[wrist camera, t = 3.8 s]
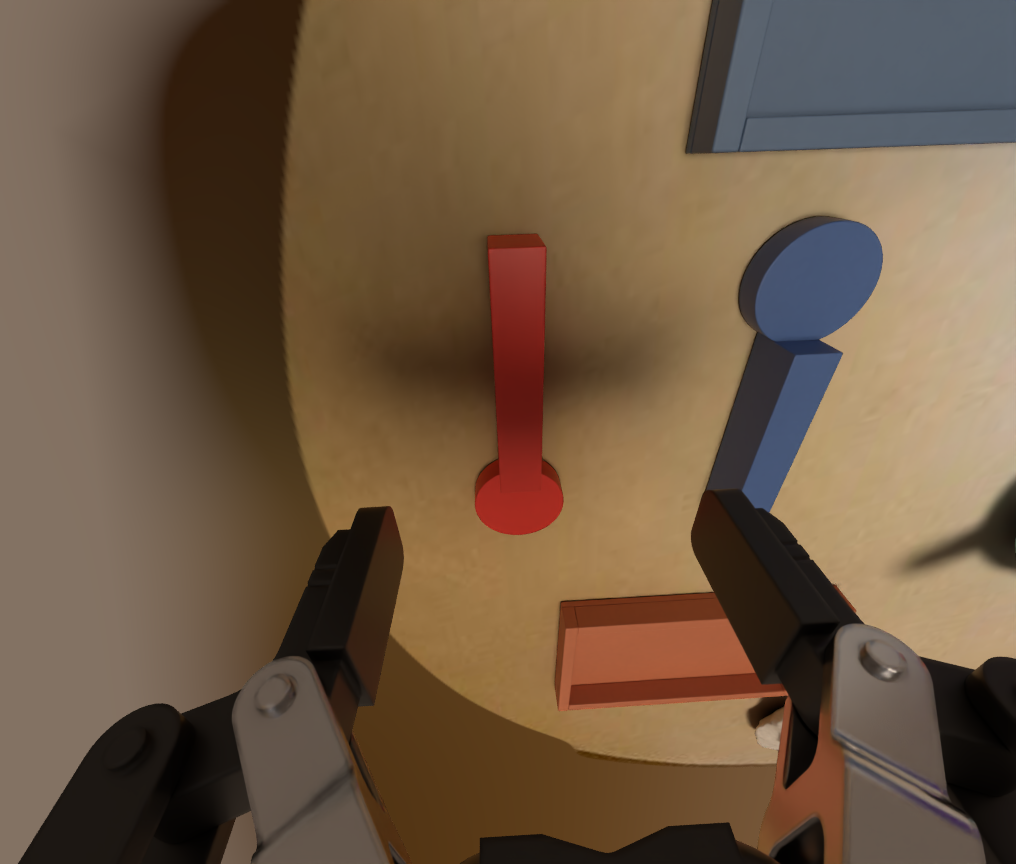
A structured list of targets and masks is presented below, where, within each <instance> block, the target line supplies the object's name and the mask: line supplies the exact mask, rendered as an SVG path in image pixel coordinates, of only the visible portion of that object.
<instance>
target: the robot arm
mask: <svg viewBox="0 0 1016 864" xmlns="http://www.w3.org/2000/svg"><path fill="white" fill-rule="evenodd" d="M691 543H692V548H693V551H694V554H695V556H696V558H697V560H698V562H699V564H700V566H701V568H702V570H703V572H704V573H705V575H706V577H707V579H708V581H709V583H710V585H711V587H712V589H713V591H714V593H715V595H716V597H717V599H718V601H719V603H720V605H721V607H722V608H723V610H724V612H725V614H726V616H727V618H728V620H729V622H730V624H731V626H732V628H733V630H734V632H735V634H736V636H737V638H738V640H739V642H740V644H741V645H742V647H743V649H744V651H745V653H746V655H747V657H748V659H749V661H750V663H751V665H752V667H753V669H754V671H755V673H756V675H757V677H758V679H759V680H760V682H761V684H762V685H765V684H783V686H784V688H785V690H786V692H787V693H788V695H789V696H788V697H787V699H786V702H785V707H784V714H783V722H782V729H781V737H780V744H779V751H778V759H777V766H776V774H775V782H774V788H773V793H772V797H771V800H770V802H769V805H768V807H767V809H766V812H765V814H764V818H763V821H762V824H761V828H760V833H759V839H758V845H757V849H755V848H753V847H751V846H749V845H746V844H744V843H742V842H739V841H737V840H735V838H734V835H733V832H732V829H731V826H730V824H729V823H713V824H697V825H683V826H682V825H680V826H668V827H666V828H664V829H661V830H659V831H657V832H655V833H653V834H651V835H649V836H647V837H644V838H642V839H640V840H638V841H636V842H634V843H632V844H630V845H628V846H626V847H623V848H621V849H619V850H617V851H615V852H612V853H604V852H599V851H596V850H593V849H589V848H586V847H582V846H579V845H576V844H573V843H569V842H566V841H563V840H559V839H556V838H552V837H550V836H546V835H543V834H536V835H518V836H502V837H488V838H487V837H486V838H480V853H478V854H476V855H474V856H471V857H469V858H467V859H466V860H465V861H463V862H461V863H460V864H1016V659H1014V658H1009V657H993V658H990V659H988V660H987V661H986V662H984V663H983V664H982V665H981V666H980V667H978V668H977V669H976V670H974V669H969V668H965V667H961V666H957V665H953V664H949V663H944V662H940V661H936V660H932V659H928V658H924V657H920V656H918V655H917V654H916V653H915V652H914V651H913V650H912V649H910V648H909V647H908V646H907V645H906V644H904V643H903V642H902V641H900V640H899V639H897V638H896V637H894V636H892V635H891V634H889V633H887V632H885V631H883V630H881V629H878V628H876V627H873V626H869V625H865V624H864V623H863V622H862V621H861V620H860V618H859V617H858V616H857V615H856V614H855V612H854V611H853V610H852V609H851V607H850V606H849V605H848V604H847V602H846V601H845V600H844V598H843V597H842V596H841V595H840V593H839V592H838V591H837V590H836V588H835V587H834V586H833V585H832V583H831V582H830V581H829V580H828V578H827V577H826V576H825V575H824V573H823V572H822V571H821V570H820V568H819V567H818V566H817V565H816V563H815V562H814V561H813V560H810V558H809V555H808V553H807V552H806V551H805V550H804V548H803V547H802V546H801V545H798V543H797V540H796V538H795V537H794V536H793V535H792V533H791V532H790V531H789V530H788V528H787V527H786V526H785V525H784V523H783V522H781V521H780V520H778V519H777V518H776V517H774V516H773V515H772V514H770V513H769V512H767V511H766V510H765V509H763V508H755V507H754V506H753V504H752V503H751V502H750V500H749V499H748V498H747V496H746V495H745V494H744V493H743V492H742V491H741V490H740V489H737V488H735V489H716V490H706V491H705V492H704V493H703V495H702V498H701V501H700V505H699V508H698V511H697V514H696V518H695V521H694V524H693V527H692V531H691ZM403 561H404V554H403V546H402V542H401V538H400V534H399V531H398V527H397V524H396V520H395V516H394V513H393V510H392V508H391V507H390V506H386V507H367V508H360V509H359V510H358V511H357V513H356V516H355V519H354V521H353V524H352V527H351V529H349V530H338V531H337V532H336V533H335V534H334V535H333V537H332V538H331V539H330V540H329V541H328V542H327V543H326V545H324V546H323V548H322V551H321V553H320V555H319V557H318V560H317V562H316V564H315V570H313V572H312V574H311V576H310V579H309V581H308V586H307V587H306V588H305V590H304V593H303V595H302V597H301V600H300V602H299V604H298V607H297V609H296V611H295V614H294V616H293V618H292V621H291V623H290V625H289V628H288V630H287V633H286V635H285V637H284V639H283V642H282V644H281V647H280V649H279V651H278V653H277V655H276V657H275V658H274V659H273V661H272V662H270V663H269V664H267V665H265V666H264V667H262V668H261V669H260V670H258V671H257V672H256V673H255V674H254V675H253V676H252V677H251V678H250V679H249V680H248V681H247V683H246V684H245V685H244V686H243V688H242V689H241V690H239V691H238V692H236V693H233V694H231V695H229V696H226V697H224V698H221V699H219V700H216V701H213V702H211V703H208V704H205V705H203V706H200V707H197V708H195V709H192V710H190V711H187V712H184V713H182V714H181V713H179V712H178V711H177V710H176V709H175V708H174V707H172V706H170V705H168V704H163V703H162V704H152V705H148V706H145V707H142V708H139V709H138V710H135V711H133V712H131V713H130V714H128V715H126V716H125V717H123V718H122V719H120V720H119V721H118V722H116V723H115V724H114V725H113V726H111V727H110V728H109V729H108V730H107V731H106V732H105V733H104V734H103V735H102V736H101V737H100V738H99V739H98V740H97V741H96V742H95V744H94V745H93V746H92V747H91V749H90V750H89V752H88V753H87V755H86V756H85V757H84V759H83V761H82V762H81V764H80V765H79V767H78V769H77V770H76V772H75V773H74V775H73V777H72V779H71V780H70V781H69V783H68V785H67V786H66V788H65V790H64V791H63V793H62V794H61V796H60V797H59V799H58V801H57V802H56V804H55V806H54V807H53V809H52V810H51V812H50V813H49V815H48V817H47V818H46V820H45V821H44V823H43V825H42V826H41V828H40V830H39V831H38V833H37V834H36V836H35V837H34V839H33V841H32V842H31V844H30V846H29V847H28V849H27V850H26V852H25V853H24V855H23V857H22V858H21V860H20V861H19V863H18V864H221V860H222V858H223V854H224V852H225V849H226V845H227V843H228V840H229V837H230V834H231V831H232V828H233V825H234V822H235V819H236V817H238V816H240V815H243V814H245V813H247V812H249V811H251V812H252V817H253V821H254V826H255V831H256V837H257V849H256V852H255V853H254V854H253V856H252V860H251V864H412V862H411V860H410V857H409V855H408V853H407V851H406V848H405V846H404V844H403V842H402V840H401V838H400V836H399V834H398V832H397V830H396V828H395V826H394V824H393V822H392V820H391V818H390V815H389V813H388V811H387V809H386V806H385V804H384V802H383V800H382V797H381V795H380V793H379V790H378V788H377V786H376V783H375V781H374V779H373V776H372V774H371V772H370V769H369V767H368V765H367V762H366V760H365V758H364V755H363V753H362V751H361V748H360V746H359V744H358V741H357V739H356V737H355V734H354V732H353V730H352V729H353V725H354V721H355V717H356V713H357V708H358V706H373V705H374V703H375V698H376V694H377V689H378V684H379V679H380V675H381V670H382V665H383V660H384V656H385V651H386V646H387V641H388V637H389V632H390V627H391V623H392V618H393V613H394V608H395V604H396V599H397V594H398V589H399V585H400V580H401V575H402V570H403Z"/></svg>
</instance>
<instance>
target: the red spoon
mask: <svg viewBox="0 0 1016 864" xmlns="http://www.w3.org/2000/svg"><path fill="white" fill-rule="evenodd" d="M487 245H488V266H489V284H490V303H491V322H492V341H493V360H494V379H495V398H496V417H497V436H498V455H499V460H496V461H494V462H493V463H491V464H490V465H488V466H487V467H486V468H485V469H484V470H483V471H482V472H481V474H480V475H479V477H478V479H477V482H476V486H475V509H476V512H477V515H478V516H479V518H480V520H481V521H482V522H483V523H484V524H485V525H486V526H488V527H489V528H491V529H493V530H495V531H498V532H500V533H504V534H511V535H522V534H529V533H533V532H536V531H539V530H541V529H543V528H545V527H547V526H548V525H550V524H551V523H552V522H553V521H554V520H555V519H556V518H557V517H558V515H559V514H560V512H561V510H562V507H563V493H562V489H561V485H560V480H559V477H558V475H557V473H556V471H555V470H554V469H553V468H552V467H551V466H550V465H549V464H548V463H546V462H545V461H543V460H542V429H543V384H544V340H545V295H546V251H547V248H546V246H545V244H544V243H543V241H542V240H541V238H540V237H539V235H538V234H517V235H491V236H488V237H487Z"/></svg>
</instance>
